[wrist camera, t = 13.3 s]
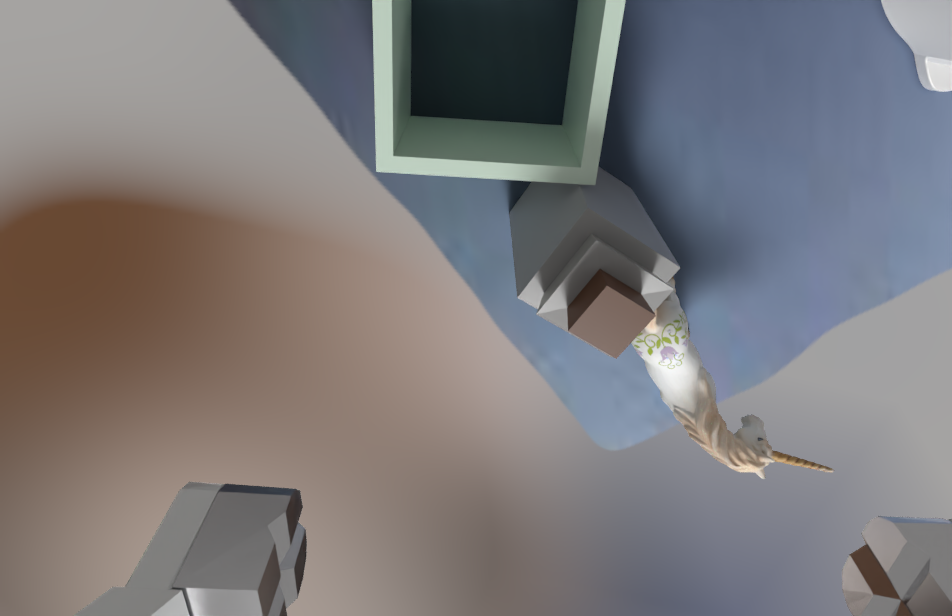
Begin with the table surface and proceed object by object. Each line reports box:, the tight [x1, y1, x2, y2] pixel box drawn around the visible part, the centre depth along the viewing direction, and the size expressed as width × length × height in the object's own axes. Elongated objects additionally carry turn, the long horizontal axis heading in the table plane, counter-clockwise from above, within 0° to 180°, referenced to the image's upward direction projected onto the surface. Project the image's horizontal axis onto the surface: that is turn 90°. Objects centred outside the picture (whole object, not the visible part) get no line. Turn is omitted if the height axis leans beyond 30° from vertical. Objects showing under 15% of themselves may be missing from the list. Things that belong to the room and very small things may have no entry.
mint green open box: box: [372, 0, 626, 185], centre depth 37 cm, size 13×13×10 cm
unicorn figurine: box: [631, 277, 834, 479], centre depth 47 cm, size 7×20×13 cm, turn 46°
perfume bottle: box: [509, 166, 681, 358], centre depth 40 cm, size 7×7×18 cm
